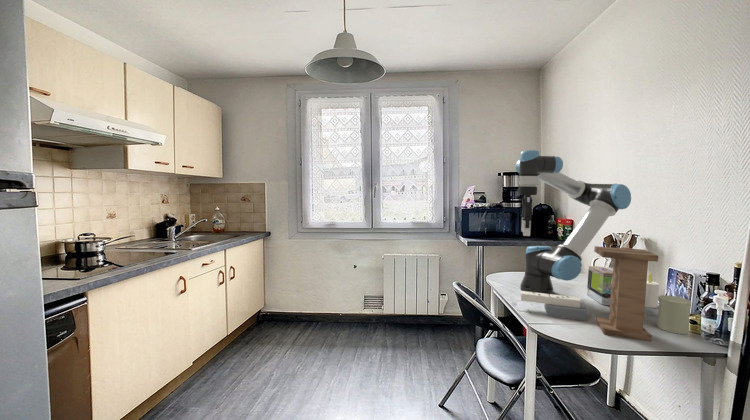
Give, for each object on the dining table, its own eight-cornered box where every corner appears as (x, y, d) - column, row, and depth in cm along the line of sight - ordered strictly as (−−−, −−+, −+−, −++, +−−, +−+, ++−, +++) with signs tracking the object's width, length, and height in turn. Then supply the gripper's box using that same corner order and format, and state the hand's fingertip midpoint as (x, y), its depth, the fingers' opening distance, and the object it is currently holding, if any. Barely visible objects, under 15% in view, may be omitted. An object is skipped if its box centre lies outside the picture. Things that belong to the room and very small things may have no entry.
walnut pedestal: (589, 321, 134) (594, 246, 132) (638, 327, 129) (644, 249, 127) (597, 333, 123) (603, 251, 121) (651, 341, 118) (658, 255, 115)
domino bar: (520, 297, 149) (520, 290, 149) (577, 304, 142) (578, 297, 142) (521, 300, 145) (521, 293, 145) (580, 307, 138) (580, 300, 137)
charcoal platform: (544, 307, 149) (544, 298, 149) (581, 312, 144) (581, 302, 144) (547, 315, 140) (547, 306, 139) (586, 320, 135) (587, 311, 134)
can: (650, 323, 133) (652, 293, 132) (672, 323, 133) (674, 293, 133) (672, 334, 124) (675, 302, 123) (696, 334, 124) (698, 302, 123)
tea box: (625, 306, 152) (628, 274, 151) (601, 305, 153) (603, 272, 152) (608, 295, 167) (610, 266, 165) (585, 294, 168) (587, 265, 167)
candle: (659, 305, 154) (662, 273, 152) (655, 308, 150) (658, 275, 148) (642, 301, 159) (644, 270, 157) (637, 304, 154) (640, 272, 153)
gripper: (517, 185, 163) (515, 229, 164) (520, 185, 139) (517, 237, 141) (534, 186, 160) (532, 230, 162) (540, 186, 137) (537, 238, 138)
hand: (525, 233), depth 151 cm, fingers open, 13 cm apart
